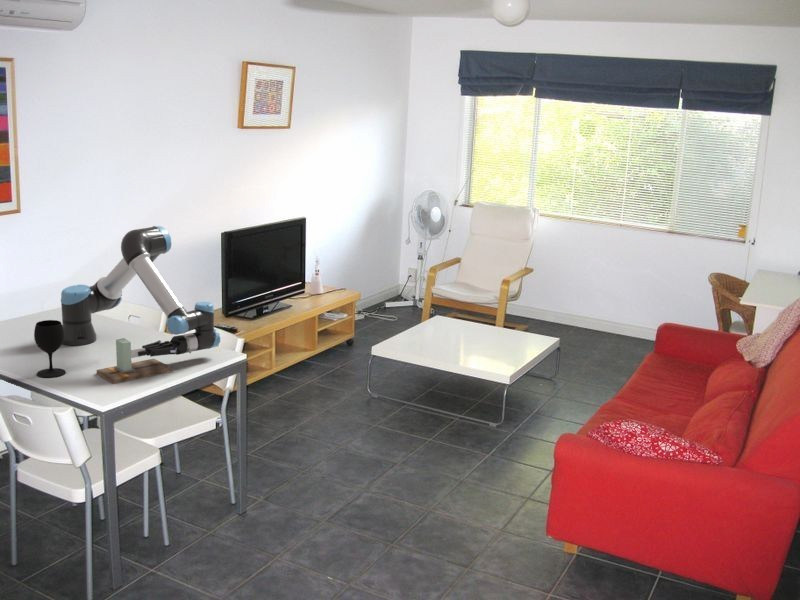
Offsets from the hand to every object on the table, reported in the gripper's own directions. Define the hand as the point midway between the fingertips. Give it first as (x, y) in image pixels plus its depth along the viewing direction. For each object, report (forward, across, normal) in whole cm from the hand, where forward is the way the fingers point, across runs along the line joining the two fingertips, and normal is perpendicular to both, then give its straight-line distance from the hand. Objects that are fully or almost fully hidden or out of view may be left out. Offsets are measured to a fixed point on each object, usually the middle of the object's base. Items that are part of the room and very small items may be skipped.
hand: (128, 354), depth 319 cm
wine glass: (+23, +18, -8) cm, 30 cm away
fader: (+2, +1, -6) cm, 6 cm away
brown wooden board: (-2, +1, -8) cm, 8 cm away
